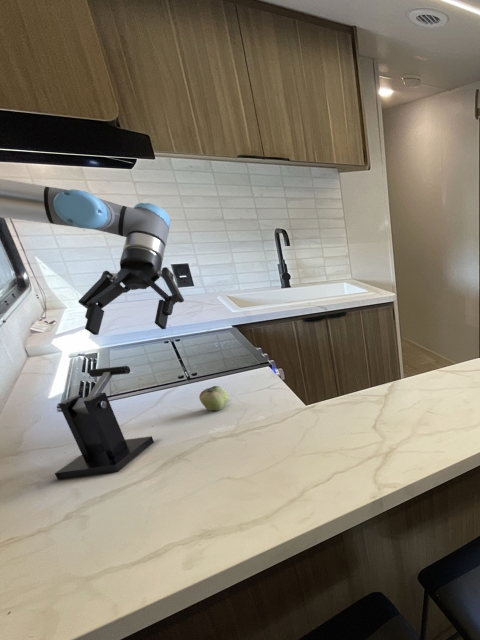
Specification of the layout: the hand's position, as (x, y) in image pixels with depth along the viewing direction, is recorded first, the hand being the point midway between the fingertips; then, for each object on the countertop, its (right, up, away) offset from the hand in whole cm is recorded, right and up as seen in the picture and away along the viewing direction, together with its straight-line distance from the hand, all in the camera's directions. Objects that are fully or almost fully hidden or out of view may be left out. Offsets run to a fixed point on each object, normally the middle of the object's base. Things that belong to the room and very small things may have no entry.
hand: (126, 329), depth 91 cm
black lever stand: (+5, -28, -9) cm, 30 cm away
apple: (+11, -19, +14) cm, 26 cm away
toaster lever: (+3, -14, -9) cm, 17 cm away
